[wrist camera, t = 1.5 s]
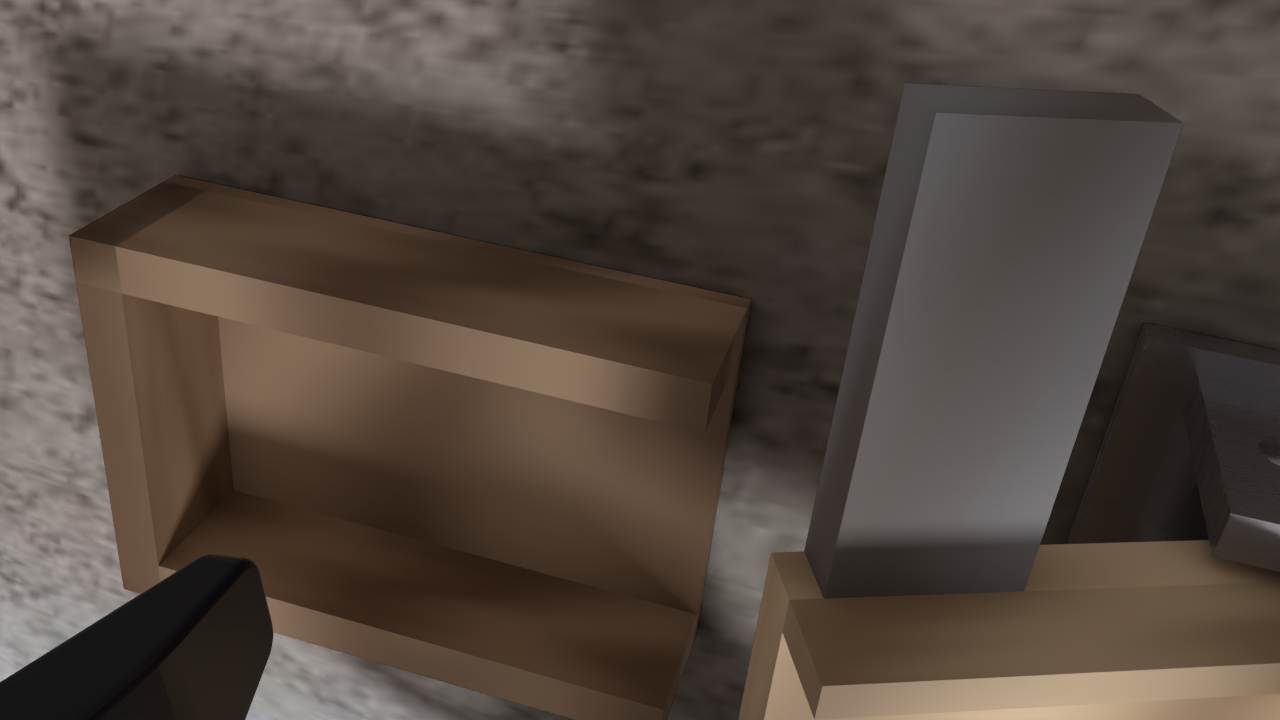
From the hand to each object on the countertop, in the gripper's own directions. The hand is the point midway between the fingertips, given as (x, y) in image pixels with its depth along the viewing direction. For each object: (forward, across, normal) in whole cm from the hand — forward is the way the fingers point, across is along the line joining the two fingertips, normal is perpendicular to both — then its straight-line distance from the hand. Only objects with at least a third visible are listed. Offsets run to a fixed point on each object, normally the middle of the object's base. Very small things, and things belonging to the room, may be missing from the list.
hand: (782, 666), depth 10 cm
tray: (+14, +8, +8) cm, 18 cm away
